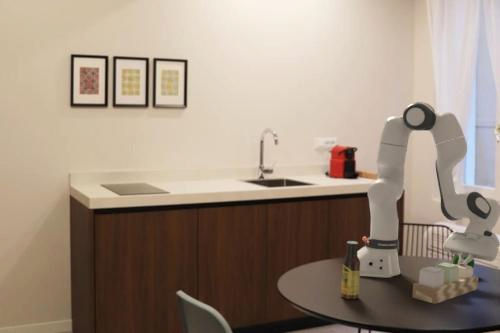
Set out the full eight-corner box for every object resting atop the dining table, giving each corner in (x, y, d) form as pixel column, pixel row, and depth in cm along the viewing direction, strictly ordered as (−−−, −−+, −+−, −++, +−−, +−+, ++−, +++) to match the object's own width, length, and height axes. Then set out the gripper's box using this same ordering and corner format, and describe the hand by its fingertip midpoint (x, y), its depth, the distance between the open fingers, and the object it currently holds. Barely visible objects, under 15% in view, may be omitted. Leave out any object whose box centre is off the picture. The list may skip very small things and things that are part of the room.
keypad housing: (455, 283, 237) (456, 271, 236) (477, 289, 230) (478, 276, 230) (412, 297, 218) (413, 283, 217) (434, 304, 211) (435, 289, 210)
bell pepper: (464, 271, 255) (465, 248, 254) (477, 277, 247) (479, 252, 246) (447, 273, 252) (448, 249, 251) (460, 278, 244) (461, 253, 243)
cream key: (457, 281, 234) (458, 263, 234) (472, 285, 230) (473, 266, 229) (449, 284, 231) (450, 265, 230) (463, 287, 226) (464, 268, 225)
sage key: (443, 280, 228) (444, 261, 227) (458, 284, 223) (459, 265, 223) (434, 283, 224) (435, 264, 223) (449, 287, 219) (450, 267, 219)
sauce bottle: (338, 294, 219) (341, 239, 218) (356, 294, 220) (358, 239, 218) (343, 300, 213) (345, 243, 211) (360, 300, 213) (363, 244, 212)
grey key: (428, 285, 221) (429, 266, 220) (443, 289, 217) (444, 269, 216) (418, 288, 217) (419, 268, 217) (433, 292, 213) (434, 272, 212)
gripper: (449, 226, 241) (434, 254, 235) (499, 234, 226) (484, 264, 220) (454, 236, 244) (440, 263, 239) (504, 245, 229) (490, 274, 224)
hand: (461, 264), depth 229 cm, fingers closed
